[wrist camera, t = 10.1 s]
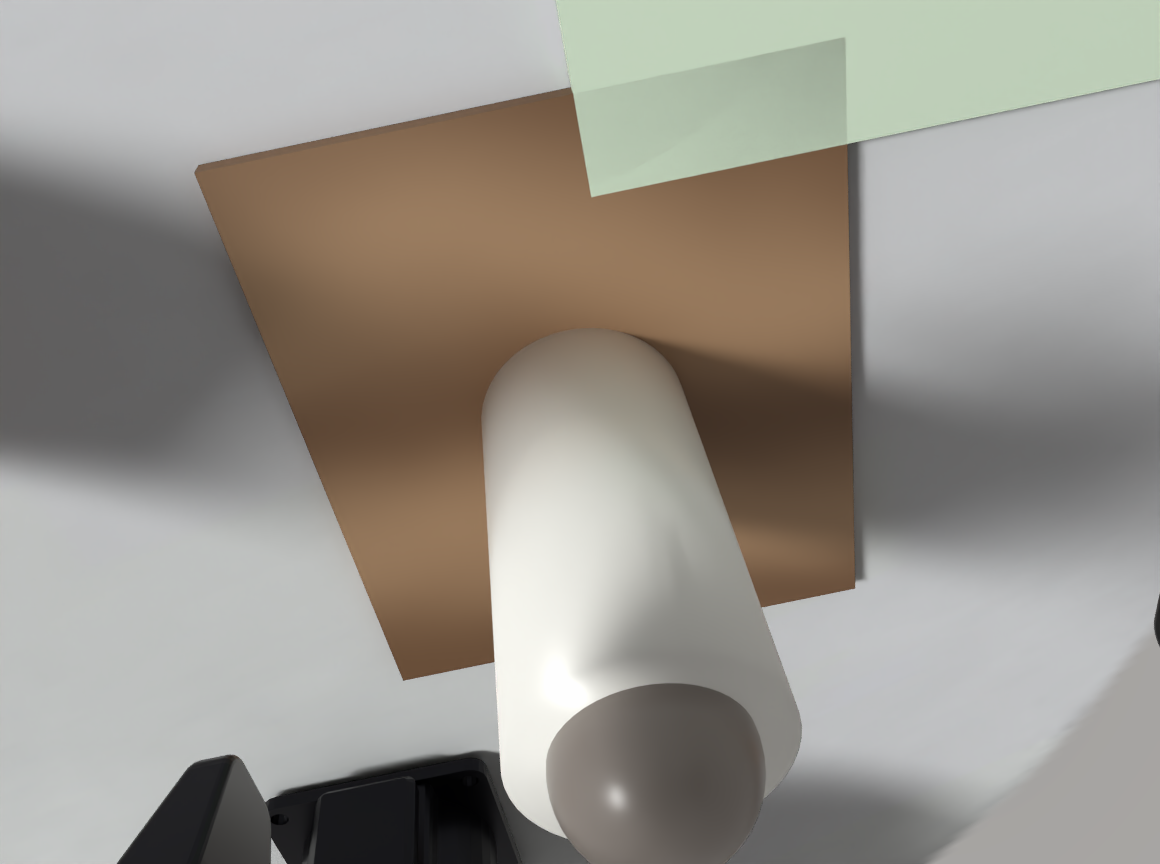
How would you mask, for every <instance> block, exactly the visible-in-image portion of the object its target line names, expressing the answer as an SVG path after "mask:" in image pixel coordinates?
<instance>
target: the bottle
mask: <svg viewBox="0 0 1160 864" xmlns="http://www.w3.org/2000/svg"><path fill="white" fill-rule="evenodd" d="M481 421H482V440H483V459H484V477H485V495H486V513H487V531H488V549H489V567H490V585H491V604H492V622H493V640H494V658H495V676H496V694H497V712H498V730H499V749H500V767H501V777H502V781H503V785H504V788H505V790H506V792H507V794H508V796H509V798H510V800H511V801H512V802H513V804H514V805H515V806H516V808H517V809H518V810H519V811H520V812H521V813H522V814H523V815H524V816H525V817H526V818H527V819H529V820H530V821H532V822H533V823H535V824H536V825H538V826H539V827H541V828H543V829H545V830H547V831H549V832H551V833H553V834H556V835H558V836H561V837H564V838H566V839H568V840H569V841H570V842H571V844H572V845H573V846H574V848H575V849H576V850H577V851H578V852H579V853H580V854H581V855H582V856H583V857H584V858H585V859H586V860H587V861H588V862H589V863H591V864H725V863H726V862H727V861H728V860H729V859H730V858H731V857H732V856H733V855H734V854H735V853H736V852H737V851H738V850H739V849H740V848H741V846H742V845H743V844H744V842H745V841H746V839H747V838H748V836H749V835H750V833H751V831H752V830H753V827H754V825H755V823H756V820H757V818H758V815H759V813H760V810H761V806H762V802H763V799H765V798H766V797H767V796H768V795H769V794H770V793H771V792H772V791H773V790H774V789H775V788H776V787H777V786H778V785H779V784H780V782H781V781H782V780H783V779H784V777H785V776H786V775H787V773H788V771H789V770H790V768H791V766H792V765H793V763H794V761H795V758H796V756H797V753H798V751H799V747H800V742H801V734H802V724H801V719H800V714H799V711H798V708H797V705H796V702H795V700H794V697H793V694H792V691H791V688H790V686H789V683H788V680H787V677H786V675H785V672H784V669H783V666H782V663H781V661H780V658H779V655H778V652H777V650H776V647H775V644H774V641H773V639H772V636H771V633H770V630H769V627H768V625H767V622H766V619H765V616H764V614H763V611H762V608H761V605H760V602H759V600H758V597H757V594H756V591H755V589H754V586H753V583H752V580H751V577H750V575H749V572H748V569H747V566H746V564H745V561H744V558H743V555H742V553H741V550H740V547H739V544H738V541H737V539H736V536H735V533H734V530H733V528H732V525H731V522H730V519H729V516H728V514H727V511H726V508H725V505H724V503H723V500H722V497H721V494H720V492H719V489H718V486H717V483H716V480H715V478H714V475H713V472H712V469H711V467H710V464H709V461H708V458H707V455H706V453H705V450H704V447H703V444H702V442H701V439H700V436H699V433H698V431H697V428H696V425H695V422H694V419H693V417H692V414H691V411H690V408H689V406H688V403H687V400H686V397H685V394H684V392H683V389H682V386H681V384H680V381H679V379H678V376H677V374H676V373H675V371H674V369H673V368H672V366H671V365H670V363H669V362H668V361H667V360H666V359H665V357H664V356H663V355H662V354H660V353H659V352H658V351H657V350H656V349H655V348H653V347H652V346H650V345H649V344H647V343H646V342H644V341H642V340H640V339H638V338H636V337H634V336H632V335H629V334H626V333H623V332H619V331H614V330H609V329H600V328H579V329H572V330H566V331H562V332H558V333H554V334H551V335H548V336H546V337H544V338H541V339H539V340H537V341H535V342H533V343H531V344H529V345H527V346H526V347H524V348H523V349H522V350H520V351H519V352H517V353H516V354H515V355H514V356H512V357H511V358H510V359H509V360H508V361H507V362H506V363H505V364H504V365H503V366H502V368H501V369H500V370H499V371H498V372H497V374H496V376H495V377H494V379H493V380H492V382H491V384H490V386H489V388H488V390H487V393H486V395H485V399H484V402H483V407H482V415H481Z"/></svg>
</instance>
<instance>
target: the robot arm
mask: <svg viewBox="0 0 1160 864" xmlns="http://www.w3.org/2000/svg"><path fill="white" fill-rule="evenodd" d="M1154 630H1155V635H1156V638H1157V641H1158V644H1159V646H1160V595H1159V600H1158V604H1157V609H1156V614H1155V619H1154ZM271 838H272V840H273V841H274V843H275V845H276V846H277V848H278V850H279V851H280V853H281V855H282V856H283V858H284V859H285V861H286V863H287V864H522V861H521V859H520V856H519V853H518V851H517V848H516V845H515V842H514V840H513V837H512V834H511V831H510V829H509V826H508V823H507V821H506V818H505V815H504V812H503V810H502V807H501V804H500V801H499V799H498V796H497V793H496V791H495V788H494V785H493V782H492V780H491V777H490V774H489V771H488V769H487V766H486V765H485V763H484V762H483V761H481V760H479V759H474V758H466V759H461V760H456V761H451V762H446V763H441V764H436V765H431V766H426V767H421V768H416V769H411V770H407V771H402V772H397V773H392V774H387V775H382V776H377V777H372V778H367V779H362V780H357V781H352V782H347V783H343V784H338V785H333V786H328V787H323V788H318V789H313V790H308V791H303V792H298V793H293V794H288V795H284V796H279V797H274V798H272V799H269V800H268V801H267V802H265V801H264V800H263V798H262V796H261V794H260V792H259V790H258V789H257V787H256V785H255V783H254V781H253V779H252V778H251V776H250V774H249V772H248V770H247V768H246V767H245V765H244V763H243V762H242V760H241V759H240V758H239V757H237V756H235V755H225V756H220V757H215V758H210V759H205V760H201V761H197V762H195V763H193V764H192V765H191V766H190V767H189V768H188V769H187V770H186V771H185V772H184V774H183V775H182V776H181V778H180V779H179V780H178V782H177V783H176V784H175V786H174V787H173V788H172V790H171V791H170V793H169V794H168V795H167V797H166V798H165V799H164V801H163V802H162V803H161V805H160V806H159V807H158V809H157V810H156V811H155V813H154V814H153V815H152V817H151V818H150V819H149V821H148V822H147V823H146V825H145V826H144V828H143V829H142V830H141V832H140V833H139V834H138V836H137V837H136V838H135V840H134V841H133V842H132V844H131V845H130V846H129V848H128V849H127V850H126V852H125V853H124V854H123V856H122V857H121V858H120V860H119V861H118V863H117V864H271Z"/></svg>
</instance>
